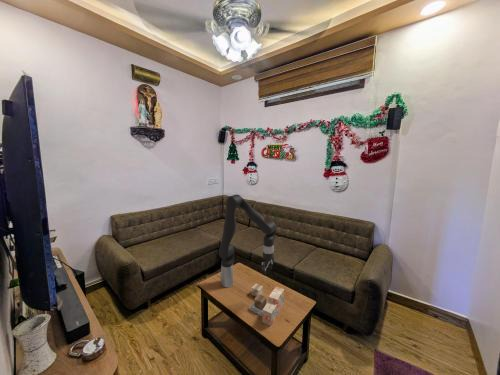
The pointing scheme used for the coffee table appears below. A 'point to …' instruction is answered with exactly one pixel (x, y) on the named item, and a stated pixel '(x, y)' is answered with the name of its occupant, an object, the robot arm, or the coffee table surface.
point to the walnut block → (260, 302)
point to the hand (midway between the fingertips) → (267, 271)
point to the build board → (256, 309)
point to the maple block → (257, 290)
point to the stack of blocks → (273, 306)
